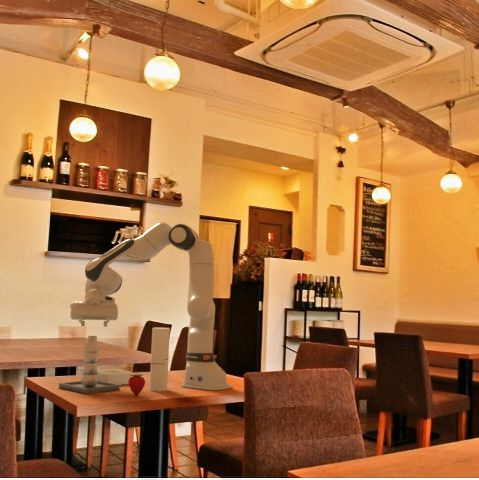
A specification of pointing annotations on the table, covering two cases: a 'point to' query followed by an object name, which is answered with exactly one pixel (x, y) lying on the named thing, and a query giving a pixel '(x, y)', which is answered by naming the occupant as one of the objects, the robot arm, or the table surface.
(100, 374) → the collar holder
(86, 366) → the plastic bottle
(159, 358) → the white toy refrigerator
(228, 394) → the table surface
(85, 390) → the grey tray
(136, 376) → the strawberry
